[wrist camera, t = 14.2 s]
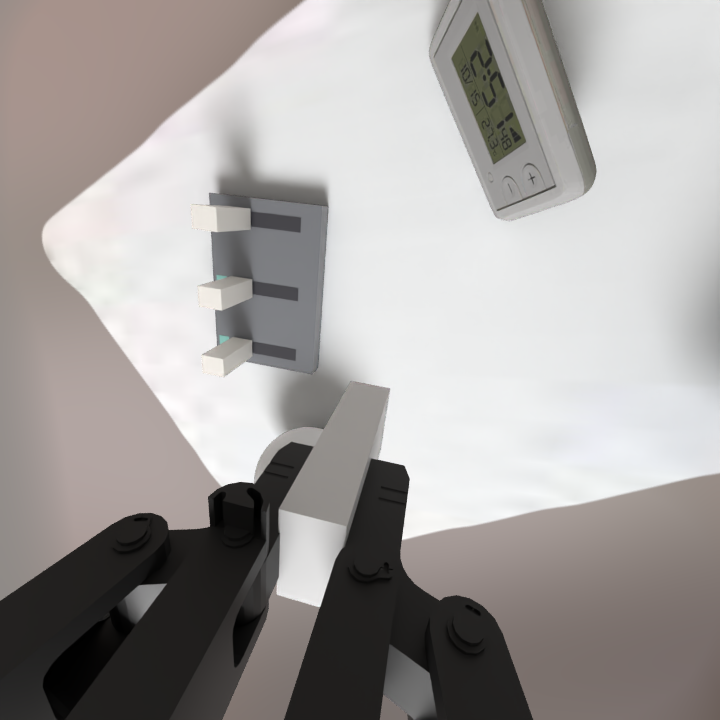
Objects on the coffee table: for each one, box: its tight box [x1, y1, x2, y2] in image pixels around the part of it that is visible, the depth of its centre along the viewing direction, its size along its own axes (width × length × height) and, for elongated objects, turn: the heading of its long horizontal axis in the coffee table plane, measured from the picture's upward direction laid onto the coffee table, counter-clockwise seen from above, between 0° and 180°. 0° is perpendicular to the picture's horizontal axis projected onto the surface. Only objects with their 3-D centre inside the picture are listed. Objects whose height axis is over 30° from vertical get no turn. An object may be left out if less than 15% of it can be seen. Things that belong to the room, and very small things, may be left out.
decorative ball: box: [254, 427, 324, 484], centre depth 43 cm, size 12×12×12 cm
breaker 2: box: [201, 337, 252, 377], centre depth 39 cm, size 2×2×6 cm
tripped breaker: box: [197, 276, 252, 311], centre depth 37 cm, size 2×2×6 cm
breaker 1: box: [191, 204, 251, 232], centre depth 34 cm, size 2×2×6 cm
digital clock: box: [429, 0, 596, 221], centre depth 27 cm, size 16×9×11 cm, turn 18°
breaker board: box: [209, 193, 328, 374], centre depth 40 cm, size 12×18×2 cm, turn 174°
